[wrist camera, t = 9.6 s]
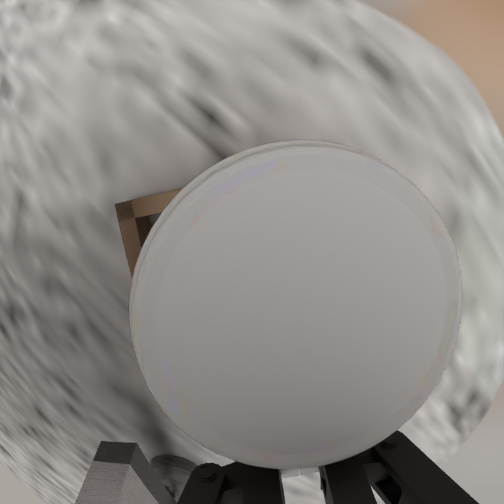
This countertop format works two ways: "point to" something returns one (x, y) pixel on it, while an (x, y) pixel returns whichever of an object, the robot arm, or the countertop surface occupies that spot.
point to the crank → (122, 478)
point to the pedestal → (173, 473)
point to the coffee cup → (295, 304)
